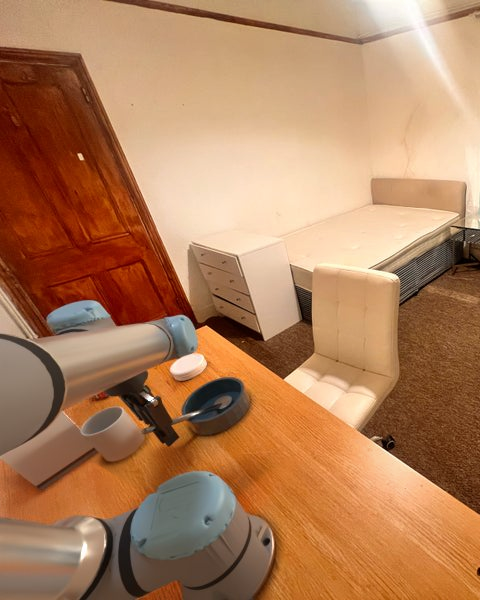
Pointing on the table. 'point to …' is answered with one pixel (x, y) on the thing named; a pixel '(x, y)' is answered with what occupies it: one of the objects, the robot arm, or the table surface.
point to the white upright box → (50, 453)
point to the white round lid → (188, 367)
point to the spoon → (199, 412)
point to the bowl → (207, 397)
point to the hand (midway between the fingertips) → (170, 440)
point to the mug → (112, 433)
